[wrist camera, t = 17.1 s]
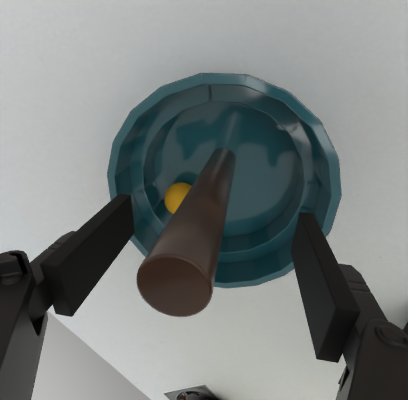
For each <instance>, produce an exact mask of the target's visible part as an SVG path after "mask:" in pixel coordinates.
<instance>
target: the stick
mask: <svg viewBox="0 0 408 400" xmlns="http://www.w3.org/2000/svg"><path fill="white" fill-rule="evenodd" d="M235 164H236V158H235V155H234V154H233V152H231V151H230V150H228V149H225V148H221V149H218V150H216V151H215V152H214V153H213V154H212V155H211V157H210V159H209V160H208V162H207V163H206V165H205V166H204V168H203V169H202V171H201V173H200V174H199V176H198V177H197V179H196V180H195V182H194V183H193V185H192V187H191V188H190V190H189V191H188V193H187V194H186V196H185V197H184V199H183V200H182V202H181V204H180V205H179V207H178V208H177V210H176V211H175V213H174V214H173V216H172V218H171V219H170V221H169V222H168V224H167V225H166V227H165V228H164V230H163V232H162V233H161V235H160V236H159V238H158V239H157V241H156V242H155V244H154V246H153V247H152V249H151V250H150V252H149V253H148V255H147V256H146V258H145V259H144V261H143V263H142V264H141V266H140V268H139V270H138V273H137V287H138V290H139V292H140V294H141V296H142V298H143V299H144V300H145V301H146V303H148V304H149V305H150V306H151V307H152V308H154V309H155V310H157V311H159V312H161V313H163V314H166V315H169V316H174V317H188V316H192V315H195V314H197V313H199V312H200V311H202V310H203V309H204V308H205V307H206V306H207V305H208V303H209V302H210V300H211V297H212V292H213V287H214V281H215V276H216V270H217V265H218V259H219V253H220V248H221V242H222V237H223V231H224V226H225V220H226V214H227V209H228V203H229V198H230V192H231V187H232V181H233V175H234V170H235Z"/></svg>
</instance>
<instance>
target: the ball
mask: <svg viewBox="0 0 408 400" xmlns="http://www.w3.org/2000/svg"><path fill="white" fill-rule="evenodd" d="M191 187H192V186H191V185H189V184H187V183H183V182H179V183H175V184H173V185H171V186H170V187H169V188H168V189H167V191H166V193H165V197H164V202H165V205H166V207H167V209H168V210H169V211H170V212H171V213H172V214H174V213H175V211H176V210H177V208H178V207H179V205H180V204H181V202H182V200H183V199H184V197H185V196H186V194H187V193H188V191H189V190H190V188H191Z"/></svg>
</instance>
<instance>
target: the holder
mask: <svg viewBox="0 0 408 400" xmlns="http://www.w3.org/2000/svg"><path fill="white" fill-rule="evenodd" d="M403 331H404V332H405V333H406V334H407V335H408V323H407V325H406V327H405V329H404V330H403Z"/></svg>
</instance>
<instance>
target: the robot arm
mask: <svg viewBox="0 0 408 400" xmlns="http://www.w3.org/2000/svg"><path fill="white" fill-rule="evenodd" d="M134 233H135V229H134V220H133V211H132V201H131V195H127V194H118V195H117V196H116V197H115V198H114V199H112V200H111V201H110V202H109V203H108V204H107V205H106V206H105V207H103V208H102V209H101V210H100V211H99V212H98V213H97V214H95V215H94V216H93V217H92V218H91V219H90V220H89V221H88V222H86V223H85V224H84V225H83V226H82V227H81V228H80V229H78V230H77V231H76V232H75V231H71V232H69V233H67V234H65V235H63V236H61V237H60V238H59V239H58V240H57V241H55V242H54V244H52V245H51V246H49V247H48V249H46V250H45V251H43V252H42V253H41V254H40V255H39V256H38V257H36V258H35V259H34V260H33V261H32V262H30V263H29V260H28V257H27V254H26V253H25V252H24V251H19V250H15V251H8V252H4V253H1V254H0V400H31V397H32V392H33V388H34V383H35V378H36V373H37V369H38V364H39V359H40V354H41V350H42V345H43V340H44V335H45V330H46V326H47V321H48V315H47V312H46V311H47V310H48V309H49V308H50V307H51V306H52V304H53V307H54V310H55V313H56V314H59V315H65V316H71V317H72V316H73V315H74V314H75V312H76V311H77V309H78V308H79V307H80V305H81V304H82V303H83V301H84V300H85V299H86V297H87V296H88V295H89V293H90V292H91V291H92V289H93V288H94V287H95V285H96V284H97V283H98V281H99V280H100V279H101V277H102V276H103V275H104V273H105V272H106V270H107V269H108V268H109V266H110V265H111V264H112V262H113V261H114V260H115V258H116V257H117V256H118V254H119V253H120V252H121V250H122V249H123V248H124V246H125V245H126V244H127V242H128V241H129V240H130V238H131V237H132V236H133V234H134ZM290 252H291V256H292V260H293V264H294V268H295V272H296V276H297V280H298V284H299V289H300V293H301V297H302V301H303V305H304V309H305V313H306V317H307V321H308V326H309V330H310V334H311V338H312V342H313V346H314V350H315V354H316V358H317V359H319V360H325V361H331V362H336V363H338V362H339V360H340V357H341V355H342V353H343V356H344V359H345V361H346V364H347V365H346V368H345V370H344V372H343V374H342V376H341V378H340V380H339V383H338V384H340V386H339V390H338V393H337V397H336V400H408V335H407V334H406V333H405V332H404V331H403V330H402V329H400V328H399V327H397V326H396V325H394V324H392V323H391V322H388V320H387V319H386V317H385V315H384V313H383V312H382V310H381V308H380V307H379V305H378V303H377V301H376V300H375V298H374V296H373V294H372V293H370V289H369V287H368V286H367V285H366V282H365V281H364V279H363V277H362V275H361V274H360V273H359V272H358V271H357V270H356V269H355V268H354V267H352V266H351V265H345V264H338V263H337V261H336V258H335V256H334V254H333V252H332V250H331V248H330V246H329V244H328V242H327V240H326V238H325V236H324V234H323V232H322V230H321V228H320V226H319V223H318V221H317V219H316V217H315V215H314V213H305V212H299V216H298V221H297V225H296V229H295V234H294V238H293V242H292V247H291V251H290Z"/></svg>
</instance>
